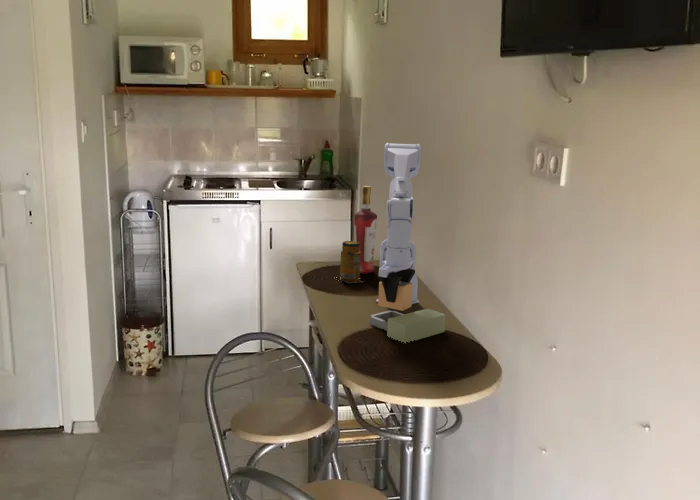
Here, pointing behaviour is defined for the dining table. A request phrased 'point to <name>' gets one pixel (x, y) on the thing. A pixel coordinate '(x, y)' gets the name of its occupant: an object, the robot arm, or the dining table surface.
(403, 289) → the orange box grey panel
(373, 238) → the liquor
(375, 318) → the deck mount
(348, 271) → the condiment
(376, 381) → the dining table surface
